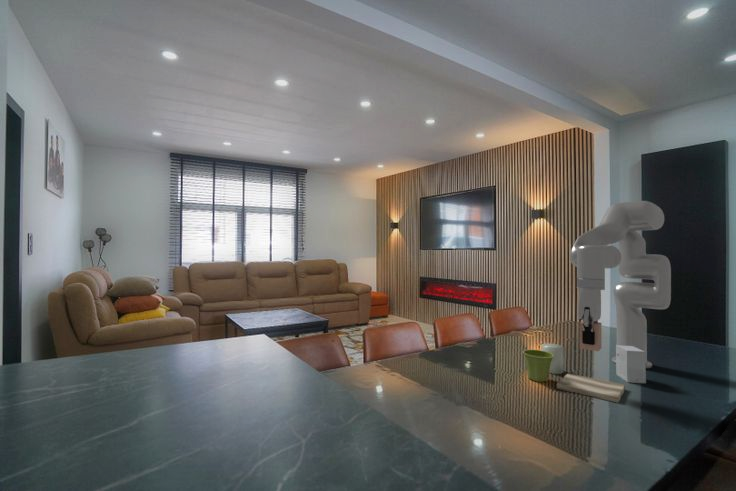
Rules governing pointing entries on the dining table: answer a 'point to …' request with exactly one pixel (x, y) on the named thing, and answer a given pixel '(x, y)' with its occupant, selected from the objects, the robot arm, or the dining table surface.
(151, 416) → the dining table surface
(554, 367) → the pale rounded smooth block
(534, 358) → the plant pot
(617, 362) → the small box
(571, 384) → the board
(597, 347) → the block
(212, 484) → the dining table surface
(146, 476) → the dining table surface
